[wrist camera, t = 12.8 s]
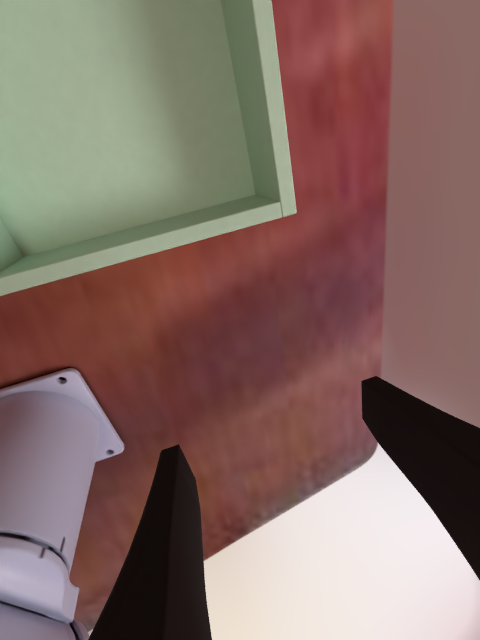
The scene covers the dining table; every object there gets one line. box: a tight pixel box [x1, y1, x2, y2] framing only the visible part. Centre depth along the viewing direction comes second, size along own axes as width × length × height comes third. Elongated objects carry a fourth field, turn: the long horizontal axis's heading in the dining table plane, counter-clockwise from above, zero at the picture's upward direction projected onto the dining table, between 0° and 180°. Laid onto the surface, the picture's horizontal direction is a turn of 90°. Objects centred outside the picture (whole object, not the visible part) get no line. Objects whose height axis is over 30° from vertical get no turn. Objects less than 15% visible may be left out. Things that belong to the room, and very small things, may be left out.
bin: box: [0, 0, 297, 296], centre depth 11 cm, size 14×13×4 cm
